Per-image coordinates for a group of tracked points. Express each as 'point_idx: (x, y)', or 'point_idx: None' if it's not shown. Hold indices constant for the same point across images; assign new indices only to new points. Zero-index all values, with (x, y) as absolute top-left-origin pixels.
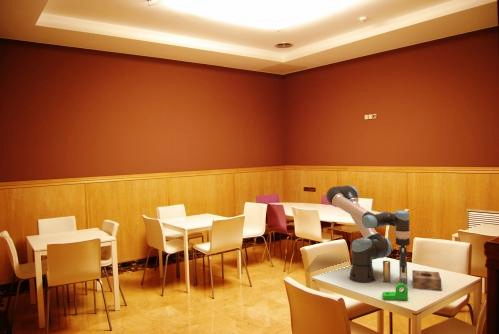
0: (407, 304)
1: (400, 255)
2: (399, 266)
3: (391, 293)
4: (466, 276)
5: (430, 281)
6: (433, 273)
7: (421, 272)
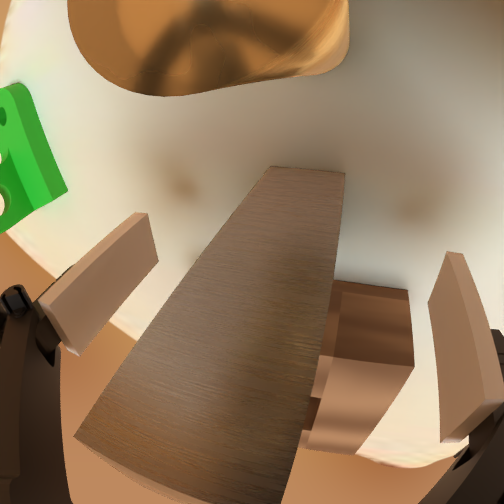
0: None
1: (6, 476)
2: (176, 289)
3: (10, 135)
4: (436, 457)
5: None
6: (321, 439)
7: (340, 404)
